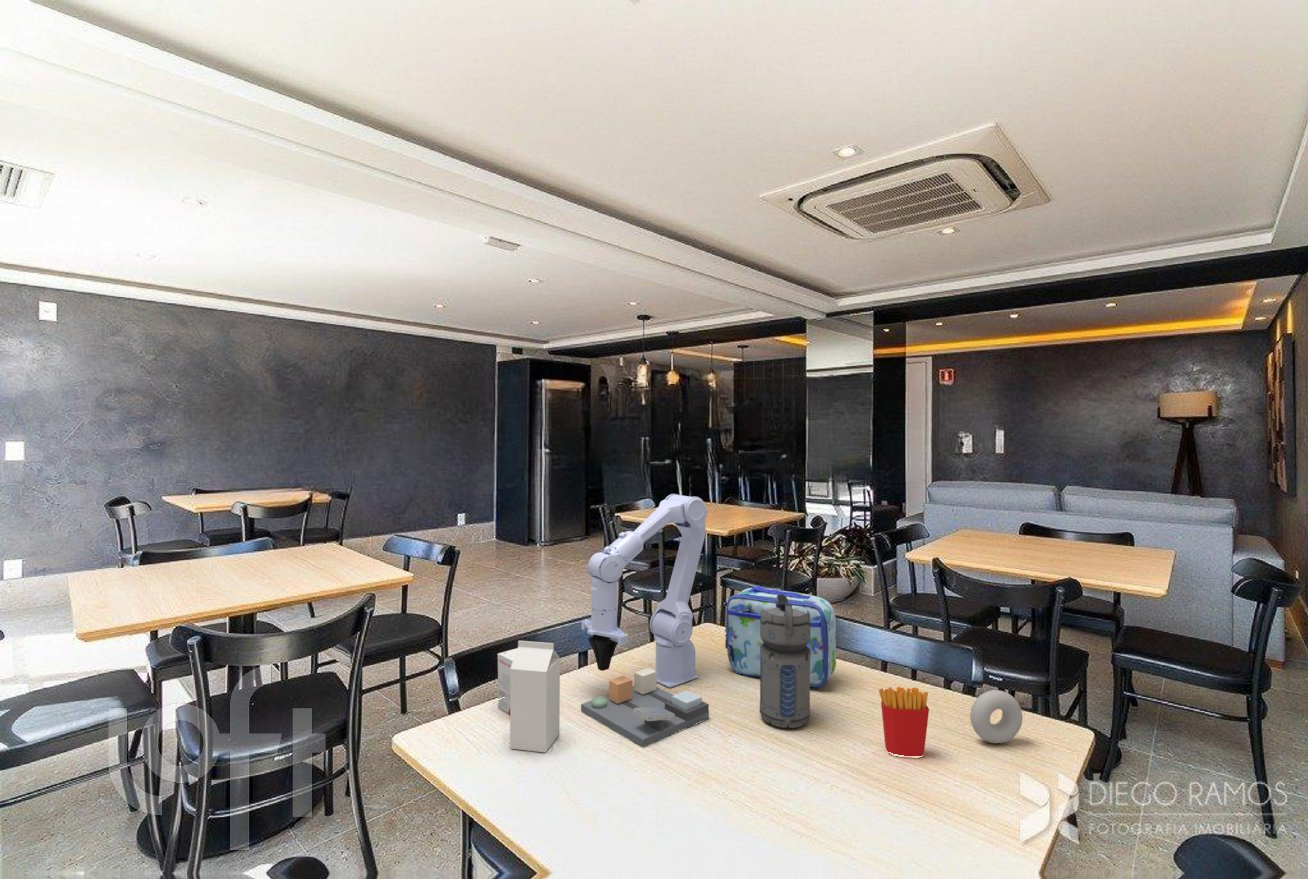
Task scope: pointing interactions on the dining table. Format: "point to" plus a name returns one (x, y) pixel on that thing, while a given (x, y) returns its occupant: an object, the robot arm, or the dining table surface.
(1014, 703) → the donut
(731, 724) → the dining table surface
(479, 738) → the dining table surface
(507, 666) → the ink box
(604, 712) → the control board
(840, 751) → the dining table surface
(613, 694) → the terracotta slider
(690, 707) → the grey button
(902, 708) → the french fries
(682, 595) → the robot arm
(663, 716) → the aluminium rocker
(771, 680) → the beverage bottle
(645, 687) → the ivory slider
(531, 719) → the milk carton
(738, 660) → the lunch box
